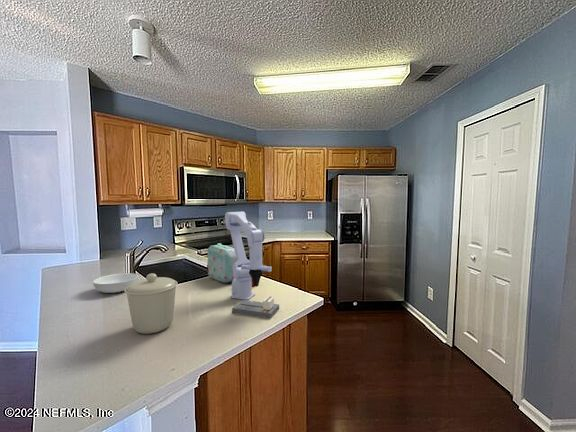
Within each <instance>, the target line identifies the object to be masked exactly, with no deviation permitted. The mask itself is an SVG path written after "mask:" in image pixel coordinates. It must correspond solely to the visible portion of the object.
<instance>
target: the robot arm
mask: <svg viewBox="0 0 576 432" xmlns="http://www.w3.org/2000/svg"><path fill="white" fill-rule="evenodd" d="M224 222H225V227H226V229H227V230H228V231H229V233H230V236H231V237H230V238H231V241H232V245H233V248H234V250H235V255H236V259H237V261H236V262H235V264H234V265H233V276H234V278H235V279H234V280H233V281H232V282H231V296H230V298H231V299H238V300H239V299H240V300H247V301H249V300H250V299H251V298H252V297H254V296H255V293H254V292H253V291H252V289H253V287H252V285H251V279H252V280H253V283H254V287H258V286H259V285H260V281H261V277H262V275H263V273H264V272H268V273H270V272H272V270H273V269H272V268H273V267H272V266H267V265H265V264H263V242H264V241H265V233H264V230H263V229H261V228H260V229H258V228H257V226H255V225H254V224H253V223H252V222H251V221H249V220H248V219H247V214H246V212H245V211H230V212H229V211H226V213H225V214H224ZM241 230H242V232H243V233H244V234H245V236H246V240H247V245H248V247H249V248H248V249H249V259H248V258H247V256H246V250H245V246H244V243H243V239H242V234H241Z"/></svg>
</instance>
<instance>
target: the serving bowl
mask: <svg viewBox="0 0 576 432" xmlns="http://www.w3.org/2000/svg"><path fill="white" fill-rule="evenodd" d="M139 277H140V276H139V275H138V274H137V273H134V272H133V273H132V272H130V273H129V272H128V273H127V272H126V273H124V272H123V273H113V274H107V275H104V276H100V277H98V278H95V279H93V280H92V284H93V287H94V288H95V290H97V291H99V292H101V293H108V294H115V293H116V292H117V293H121V291H122V292H125V291H124V290H125V288H126V287H128V286H129V285H130V284H132V283H134V282H136V281H139Z"/></svg>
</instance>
